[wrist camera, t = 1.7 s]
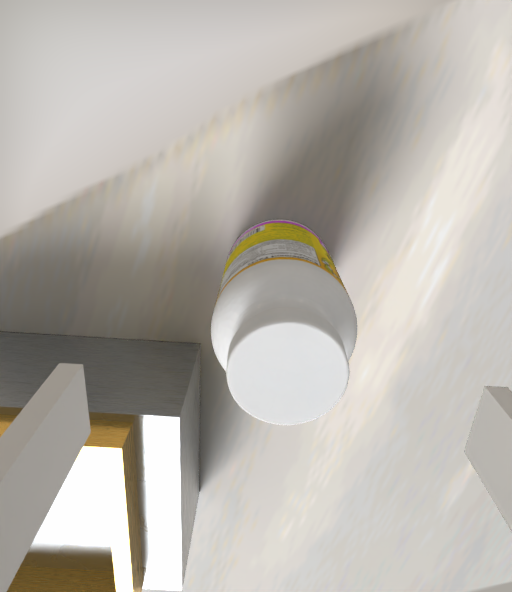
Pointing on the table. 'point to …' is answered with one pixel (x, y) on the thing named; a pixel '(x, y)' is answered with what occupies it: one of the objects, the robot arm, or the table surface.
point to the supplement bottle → (283, 324)
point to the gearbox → (114, 463)
